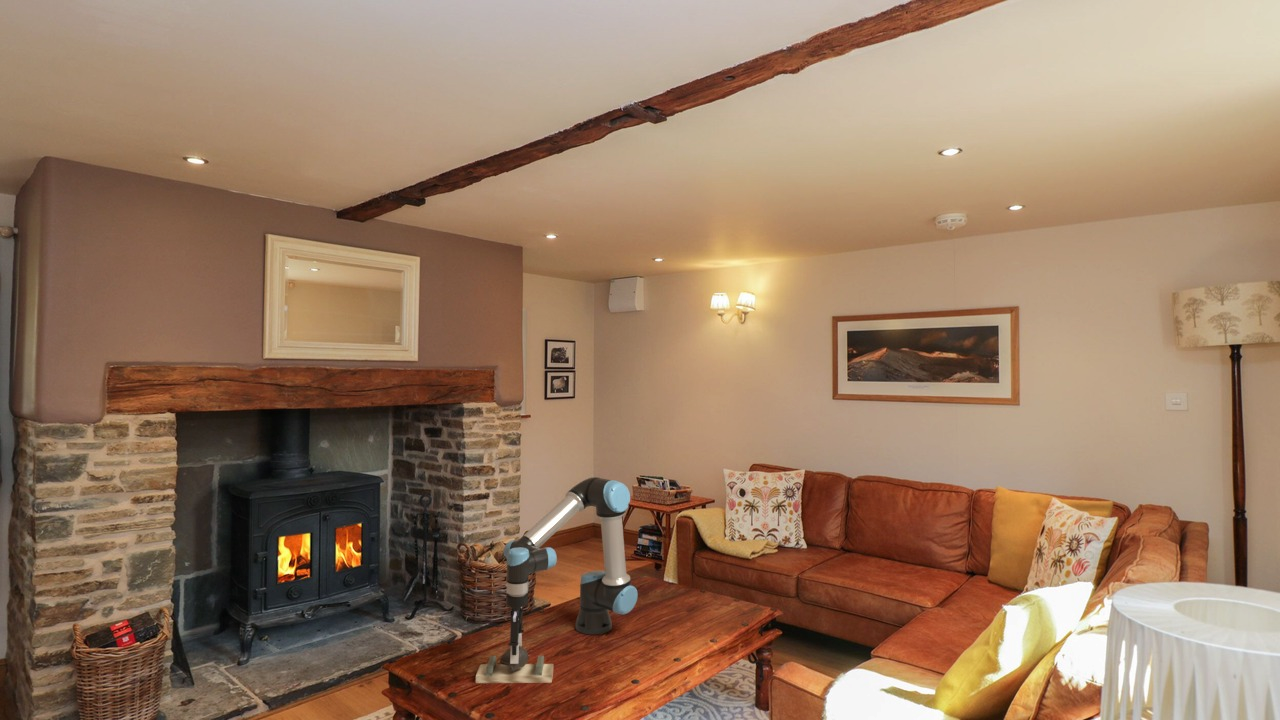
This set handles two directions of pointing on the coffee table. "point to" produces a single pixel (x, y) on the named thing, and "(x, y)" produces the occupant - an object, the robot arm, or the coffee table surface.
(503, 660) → the stone
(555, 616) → the coffee table surface
